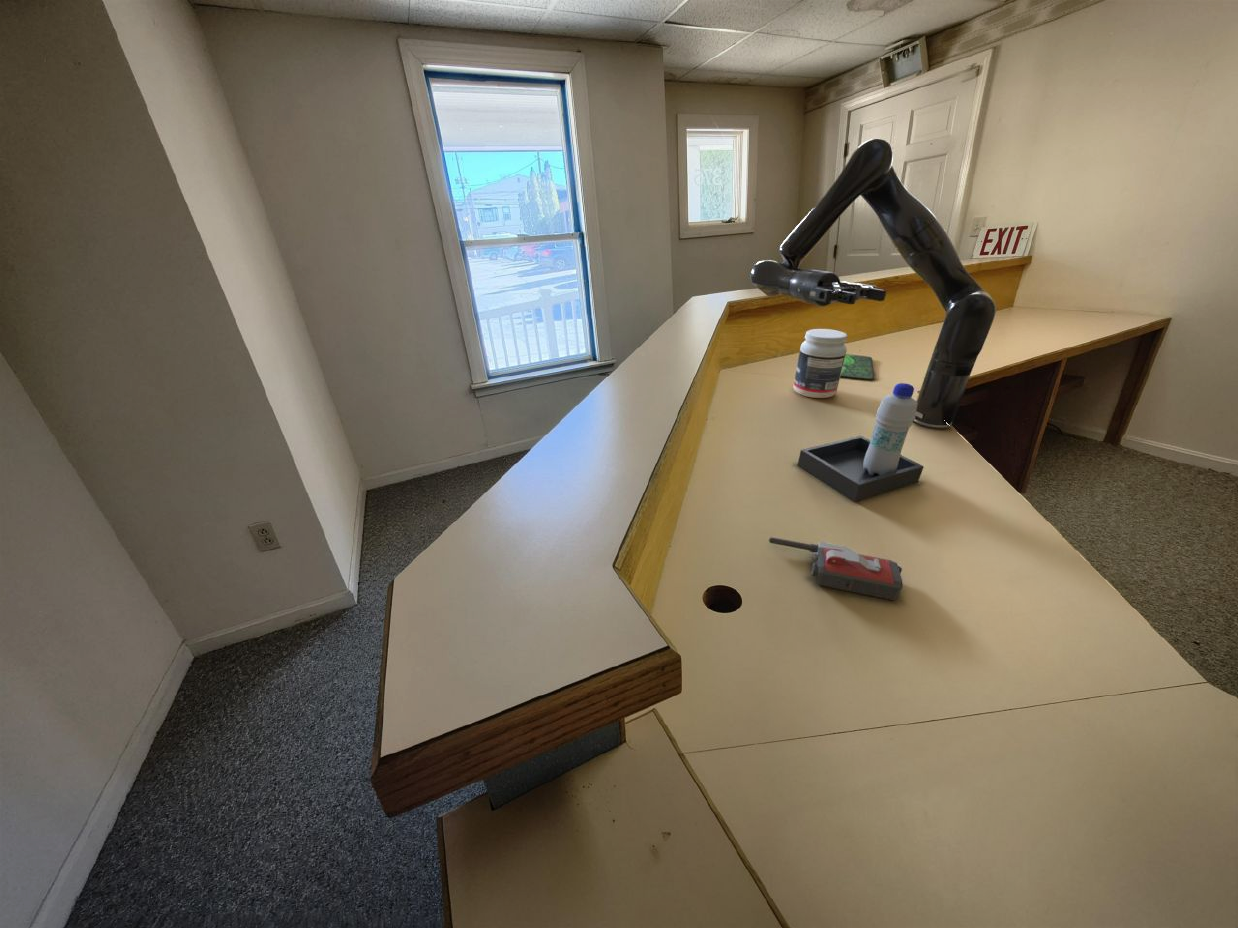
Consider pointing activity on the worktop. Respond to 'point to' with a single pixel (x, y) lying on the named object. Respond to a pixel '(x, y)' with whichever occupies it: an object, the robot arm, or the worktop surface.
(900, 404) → the bottle
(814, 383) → the supplement tub
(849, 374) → the mouse mat
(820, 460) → the tray
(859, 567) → the walkie-talkie
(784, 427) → the worktop surface
